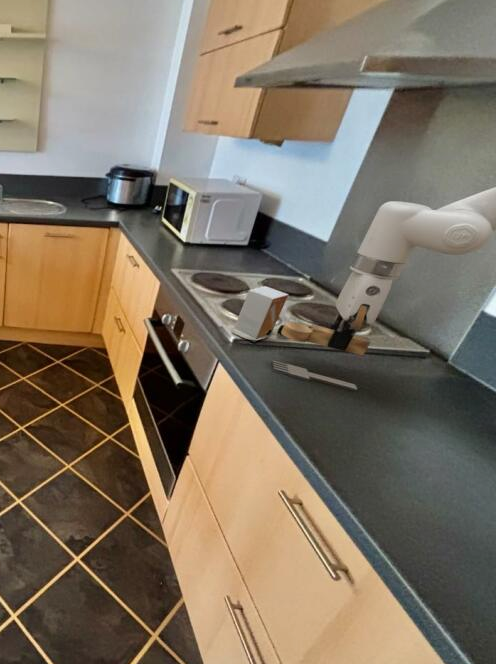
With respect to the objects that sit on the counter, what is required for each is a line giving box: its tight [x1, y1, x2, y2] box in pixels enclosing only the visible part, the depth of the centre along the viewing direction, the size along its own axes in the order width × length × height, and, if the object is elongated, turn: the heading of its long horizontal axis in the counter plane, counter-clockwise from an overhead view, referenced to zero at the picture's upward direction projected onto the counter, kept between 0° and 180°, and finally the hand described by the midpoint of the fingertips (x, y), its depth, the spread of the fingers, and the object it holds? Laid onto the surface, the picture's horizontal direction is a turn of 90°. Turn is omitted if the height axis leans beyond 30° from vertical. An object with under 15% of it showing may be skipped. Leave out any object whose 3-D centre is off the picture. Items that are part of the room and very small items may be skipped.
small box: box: [233, 285, 289, 339], centre depth 110 cm, size 8×6×13 cm
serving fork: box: [271, 360, 358, 393], centre depth 95 cm, size 16×5×1 cm, turn 61°
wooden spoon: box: [280, 321, 371, 356], centre depth 91 cm, size 15×5×3 cm, turn 61°
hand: (334, 344), depth 91 cm, fingers closed on wooden spoon, 2 cm apart
